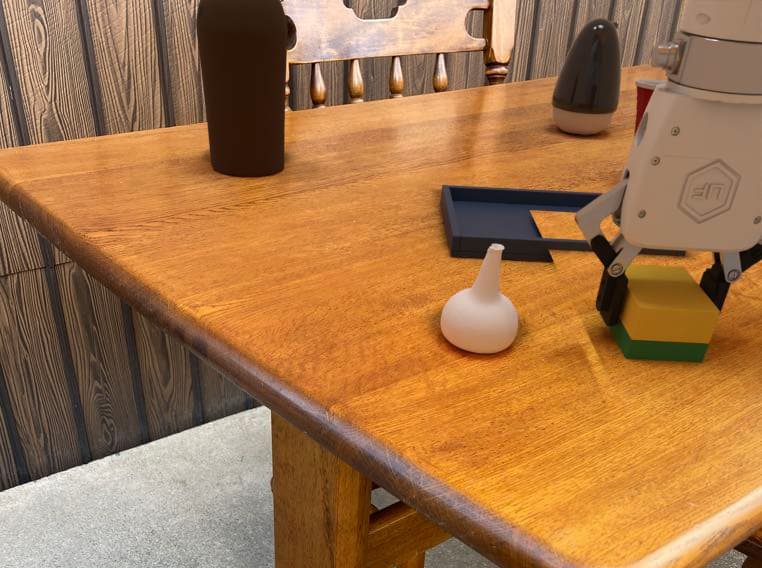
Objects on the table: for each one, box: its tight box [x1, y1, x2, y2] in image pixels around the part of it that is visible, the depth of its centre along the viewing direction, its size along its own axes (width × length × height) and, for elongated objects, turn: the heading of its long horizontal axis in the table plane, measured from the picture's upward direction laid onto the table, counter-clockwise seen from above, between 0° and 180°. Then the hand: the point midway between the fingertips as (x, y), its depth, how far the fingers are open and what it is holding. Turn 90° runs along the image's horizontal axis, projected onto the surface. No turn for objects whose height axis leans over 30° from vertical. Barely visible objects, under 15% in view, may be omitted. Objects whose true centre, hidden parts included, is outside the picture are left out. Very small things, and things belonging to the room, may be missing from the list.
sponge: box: [608, 263, 721, 364], centre depth 63 cm, size 9×6×5 cm, turn 179°
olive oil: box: [195, 0, 289, 177], centre depth 93 cm, size 11×11×25 cm
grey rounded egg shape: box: [550, 17, 622, 135], centre depth 120 cm, size 10×10×15 cm
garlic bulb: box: [440, 244, 519, 354], centre depth 62 cm, size 6×6×8 cm
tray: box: [439, 184, 687, 263], centre depth 86 cm, size 24×18×2 cm
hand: (653, 320), depth 63 cm, fingers open, 6 cm apart
